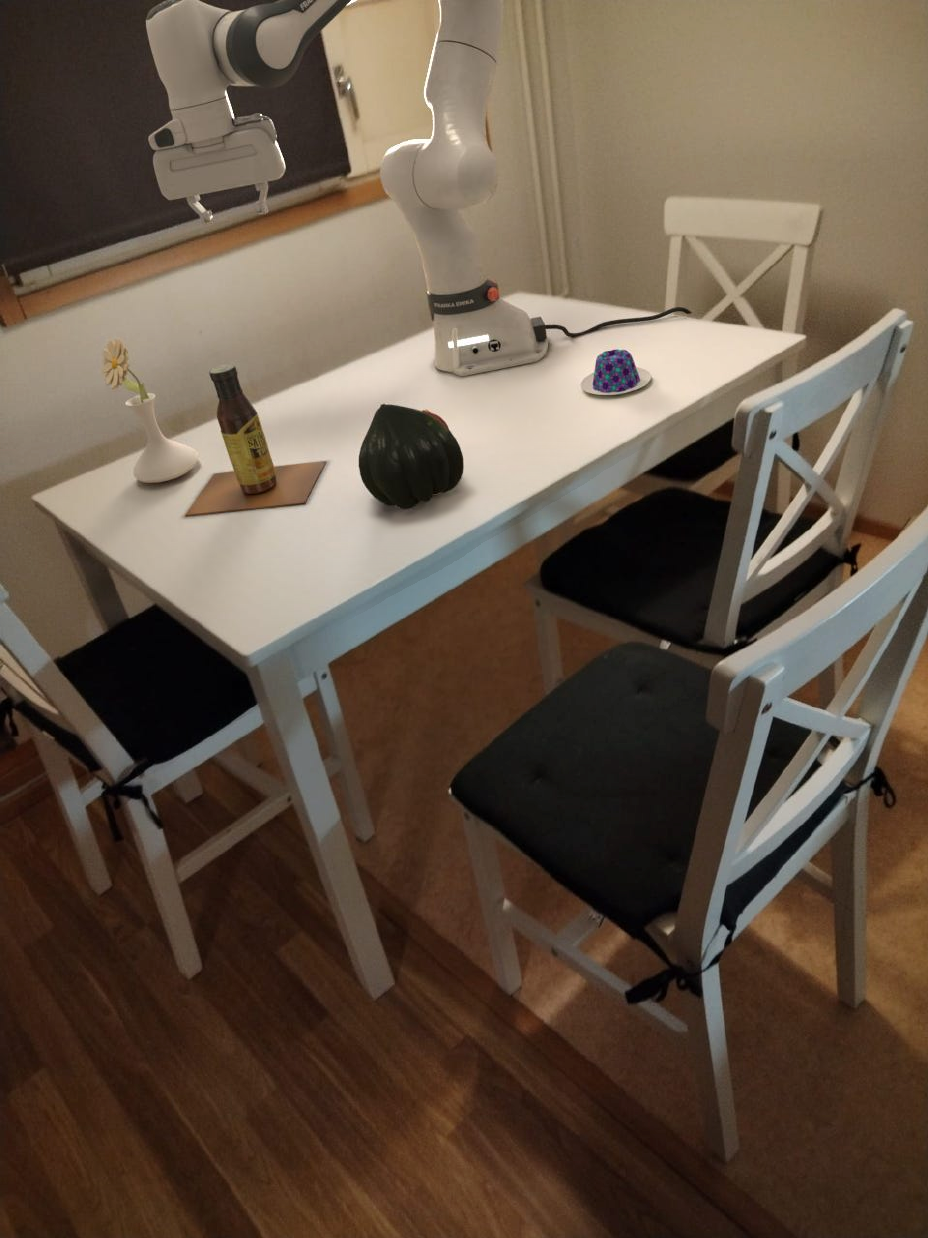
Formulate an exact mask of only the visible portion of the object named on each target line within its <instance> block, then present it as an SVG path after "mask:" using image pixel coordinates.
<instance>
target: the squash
mask: <svg viewBox="0 0 928 1238" xmlns="http://www.w3.org/2000/svg"><path fill="white" fill-rule="evenodd" d="M448 428H449V427H448ZM448 428H447V427H446V426H445V425H444V424H443V423H442V422H441V421H440V420H439V419H438V418H436V417H435V416H433V415H431V414H428V413H425V412H422V410H419V409H416V408H412V407H407V406H402V405H397V404H386V403H381V404H380V405H379V407H378V409H377V410H376V411H375V413H374V415H373V418H372V419H371V422H370V425H369V427H368V429H367V432H366V433H365V436H364V438H363V439H362V443H361V446H360V449H359V454H358V471H359V476H360V478H361V481H362V483H363V485H364V487H365V488H366V489H367V491H368V492H369V493H370V494H371V495H372V497H374V499H376V500H377V501H378V502H380V503H382V504H384V505H386V506H390V507H396V508H398V509H402V510H410V509H413V508H415V507H416V506H417V505H418V504H419V503H420V502H421V503H428V502H430V501H431V500H432V499H433V496H434V495H436V496H437V495H439V494H445V493H448V492H450V491H452V490H453V489H455V488H456V486H458V484H459V483H460V481H461V480H462V478H463V474H464V467H465V465H464V455H463V452H462V448H461V446H460V443H459V442H458V440H457V438H456V437H455V435H453V433H452V432H451V430H450V428H449V429H448Z"/></svg>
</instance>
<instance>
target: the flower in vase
mask: <svg viewBox="0 0 928 1238" xmlns="http://www.w3.org/2000/svg"><path fill="white" fill-rule="evenodd" d="M102 356H103V357H102V362H103V366H102V367H101V373H103V374H105V375H104V381H105V384H106V386H109V385H110V388H111V390H114V389H118V388H119V386H120V387H121V386H122V385H123V386H124V388H126V389H127V390H129V391H132V392H134V393H137V394H138V395H135V396H132V397H130V398H129V399H127V400H126V401H125V406H126V407H128V408H129V409H131V410H132V411H133V412H134V413H135V414H136V415H137V417H138V419H139V421H140V422H141V424H142V426H143V428H144V430H145V434H146V436H147V444H146V447H145V448H144V450H142V453H141V454H140V456H139V457H138V459H137V460H136V462H135V464H134V467H133V476H134V478H135V479H137V480H138V481H140V482H142V483H148V484H153V483H164V482H167V481H171V480H175V479H176V478H179V477H181V476H183V475H185V474H186V473H188V472H189V471H190V470H192V469H194V467H195V466H196V465H197V463H198V462H199V461H198V460H199V453H198V452H197V450H195V449H194V448H193V447H191V446H189V445H186V444H184V443H180V442H178V441H174V440H171V439H169V438H167V437H165V436H164V435H163V433H162V431H161V429H160V428H159V425H158V422H157V419H156V415H155V409H154V407H155V406H154V403H155V399H156V394H155V393H152V392H148V393H147V391H146V386H145V383H144V382H142V383H141V381H140V380H139V378H138V377H137V375H135V373H134V372H133V371H132V370H131V369H130V361H129V358H130V357H129V348H128V347H126V345H125V342H124V341H122V339H121V338H119V337H117V336H116V337H115V338H114V340H113V339H111V338H110V339H109V342H107V343H106V349H105V348H104V349H103V350H102ZM128 373H129V374H130V375H131V376H133V378H134V379H135V381H136V382H135V381H132V380H131V379H129V378H127V377H126V376H127V375H128Z"/></svg>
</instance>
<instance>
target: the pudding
mask: <svg viewBox="0 0 928 1238" xmlns="http://www.w3.org/2000/svg"><path fill="white" fill-rule="evenodd" d="M651 379H652V374H651V373H650V372H649V371H648V370H647V369H644V368H642V367H637V366H636V363H635V359H634V357H633V355H632V354H631V352H630V351H628V350H626V349H617V348H616V349H611V350H606V351H603V352H602V353H599V355H597V357H596V359H595V364H594V372H591V373H590V374H588V375H587V376H585V377H584V378H583V379H582V380H581V382H580V388H581V389H582V390H583V391H584V392H585V393H586V392H587V393H589V394H593V395H600V396H613V395H622V394H626V393H630V392H633V391H636V390H639V389H641V388H643V387H644V386H646V385H647V384H648V383H649V382H650V381H651Z"/></svg>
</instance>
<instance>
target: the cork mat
mask: <svg viewBox="0 0 928 1238" xmlns="http://www.w3.org/2000/svg"><path fill="white" fill-rule="evenodd" d="M326 463H327V461H326V460H322V461H321V460H320V461H313V462H304V463H295V464H286V465H277V466H274V468H275V471H276V473H275V475H276V484H275V485H274V486H273V487H272V488H270V489H269V490H267V491H264V492H261V493H258V494H246V493H244V492H243V491H242V490H241V487H240V484H239V483H238V481H237V478H236V476H235V473H234V470H233V471H223V472H215V473H213V474H212V475H211V477H210V478H209V480H208V481H207V483H206V484H205V486H204V487H203V488H202V490H201V492H200V493H199V494H198V496H197V497H196V499H195V500H194V501H193V503H192V504H191V505H190V507H189V509H188V510H187V511H186V513H185V514H184V515H185V517H192V516H202V515H210V514H220V513H230V512H241V511H249V510H251V511H252V510H259V509H260V510H261V509H270V508H279V507H287V506H288V507H289V506H297V505H306V503H307V501H308V499H309V497H310V495H311V494H312V491H313V489H314V487H315V485H316V483H317V482H318V480H319V477H320V475H321V474H322V471H323V470H324V467H325V465H326Z"/></svg>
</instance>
